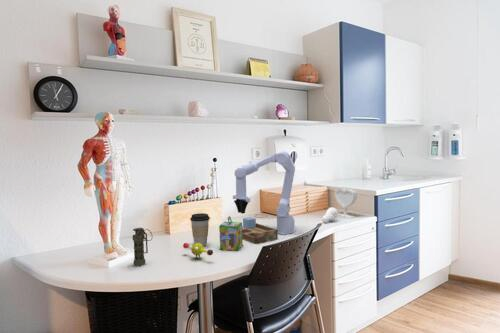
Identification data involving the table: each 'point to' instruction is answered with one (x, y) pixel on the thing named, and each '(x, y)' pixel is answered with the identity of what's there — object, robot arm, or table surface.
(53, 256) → the table surface
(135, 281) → the table surface
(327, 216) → the penguin figurine
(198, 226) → the coffee cup
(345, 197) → the heart sculpture
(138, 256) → the grenade
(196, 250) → the toy figure
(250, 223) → the block
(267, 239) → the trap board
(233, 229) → the green printed box
